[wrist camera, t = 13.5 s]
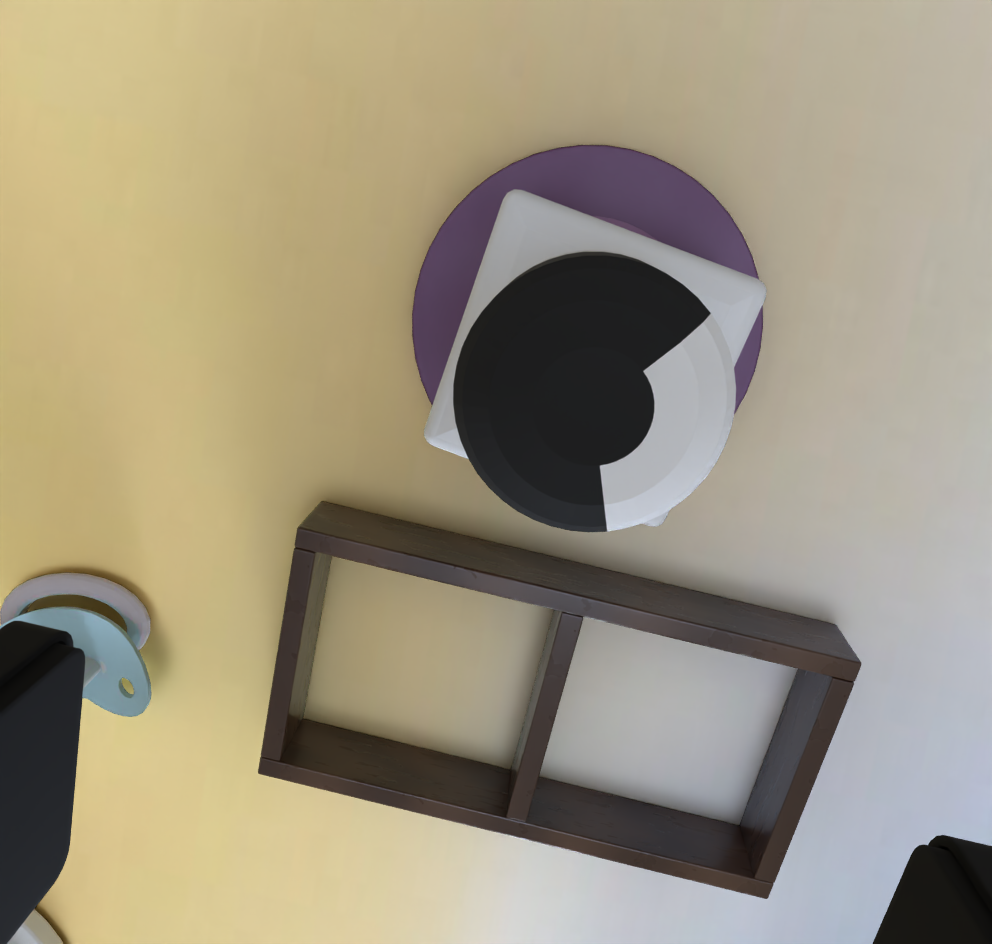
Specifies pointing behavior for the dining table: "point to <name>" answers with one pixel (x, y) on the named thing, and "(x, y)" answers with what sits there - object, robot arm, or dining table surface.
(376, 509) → the dining table surface
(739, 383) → the lid
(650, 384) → the medicine bottle
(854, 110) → the dining table surface
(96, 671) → the pacifier
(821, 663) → the frame
